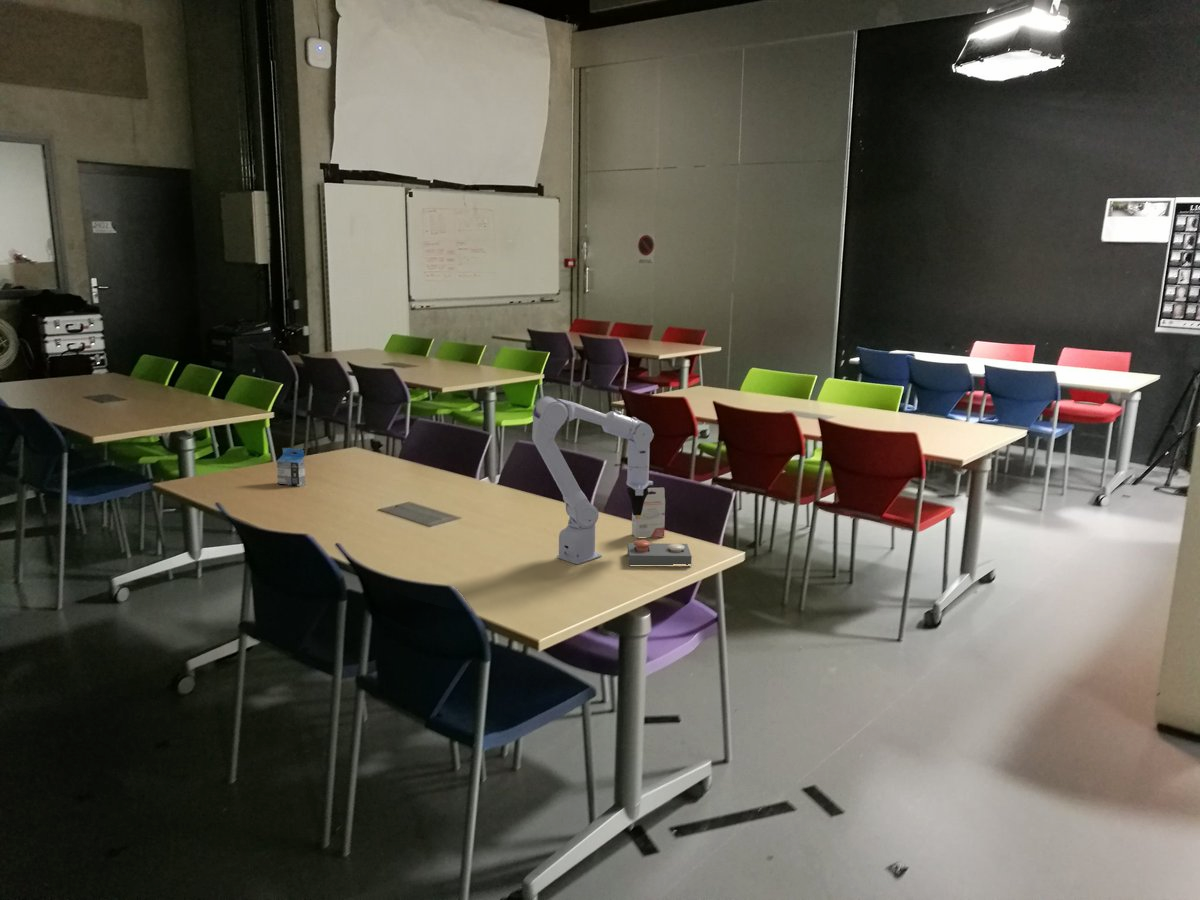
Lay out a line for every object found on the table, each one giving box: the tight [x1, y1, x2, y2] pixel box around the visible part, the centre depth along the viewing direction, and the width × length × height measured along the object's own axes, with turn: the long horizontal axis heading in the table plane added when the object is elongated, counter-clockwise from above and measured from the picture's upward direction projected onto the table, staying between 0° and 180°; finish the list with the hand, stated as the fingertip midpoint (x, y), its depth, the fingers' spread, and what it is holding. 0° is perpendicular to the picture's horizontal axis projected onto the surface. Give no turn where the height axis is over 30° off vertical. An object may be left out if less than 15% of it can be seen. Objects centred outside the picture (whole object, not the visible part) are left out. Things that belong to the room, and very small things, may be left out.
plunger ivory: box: [668, 543, 685, 552], centre depth 232 cm, size 4×4×4 cm
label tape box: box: [276, 447, 306, 487], centre depth 300 cm, size 9×4×12 cm, turn 73°
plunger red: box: [633, 539, 651, 552], centre depth 231 cm, size 4×4×4 cm
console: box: [627, 542, 693, 566], centre depth 232 cm, size 16×10×3 cm, turn 91°
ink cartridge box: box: [631, 487, 666, 539], centre depth 251 cm, size 9×5×15 cm, turn 106°
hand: (636, 514), depth 236 cm, fingers closed
